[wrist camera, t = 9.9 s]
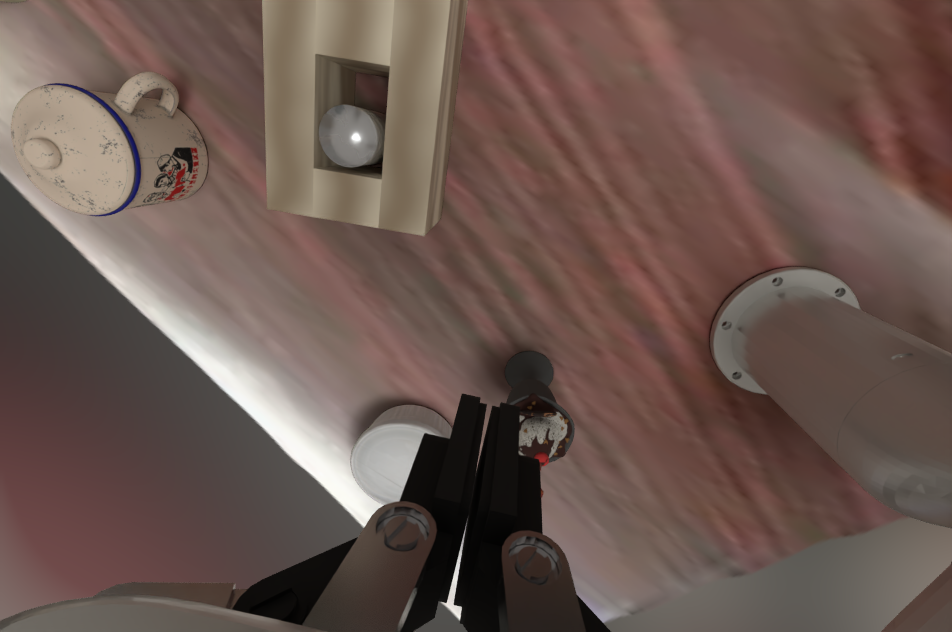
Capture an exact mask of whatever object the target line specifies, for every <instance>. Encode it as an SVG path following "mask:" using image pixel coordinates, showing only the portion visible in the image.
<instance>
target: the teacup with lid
mask: <svg viewBox="0 0 952 632" xmlns="http://www.w3.org/2000/svg"><path fill="white" fill-rule="evenodd" d="M159 88H160V89H162V96H161V98H160V100H157V99H152V98H144V97H143V96H144V95H145V94H146V93H148V92H149V91H151V90H153V89H159ZM178 103H179V94H178V91H177V89H176V87H175V86H174V85H173V84H172V83H171V82H170V81H169V80H168V79H167V78H166V77H164V76H163V75H161V74H158V73H155V72H143V73H139V74H137V75H135V76H133V77H132V78H130V79H129V80H128V81H127V82H125V84H124V85H123V86H122V87H121V89H120V90H119V92H118V94H112V93H104V92H96V91H88V90H85V89H83V88H80V87H77V86H73V85H69V84H60V83H55V84H48V85H44V86H41V87H38V88H35V89H33V90H31V91H30V92H28V93H27V94H26V95H25V96H24V97H23V98H22V99H21V100H20V101H19V103H18V104H17V106H16V108H15V110H14V113H13V117H12V123H11V136H12V142H13V146H14V150H15V153H16V156H17V158H18V160H19V162H20V164H21V166H22V168H23V170H24V171H25V173H26V174H27V176H28V177H29V179H30V180H31V181H32V183H33V184H34V185H35V186H36V187H37V188H38V189H39V190H40V191H41V192H42V193H43V194H44V195H46V196H47V197H48V198H49V199H51V200H52V201H54V202H55V203H57V204H58V205H60V206H62V207H64V208H66V209H69V210H71V211H74V212H77V213H80V214H85V215H90V216H107V215H112V214H115V213H117V212H120V211H121V210H123V209H129V208H135V207H141V206H146V205H152V204H158V203H164V202H170V201H176V200H182V199H185V198H187V197H190V196H191V195H193V194H194V193H195V192H197V190H198V189H199V188H200V187H201V186H202V184H203V182H204V180H205V178H206V174H207V169H208V156H207V150H206V147H205V144H204V141H203V139H202V136H201V134H200V133H199V131H198V129H197V128H196V126H195V125H194V124H193V122H192V121H191V120H190V119H189V118H188V117H187V116H186V115H185V114H184V113H183V112H182V111H180V110H179V109H178V108H177V106H178Z"/></svg>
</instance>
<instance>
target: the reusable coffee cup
mask: <svg viewBox="0 0 952 632" xmlns="http://www.w3.org/2000/svg"><path fill="white" fill-rule="evenodd" d="M0 1H2V2H11V3H19V2H24V1H27V0H0Z"/></svg>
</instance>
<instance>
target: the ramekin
mask: <svg viewBox="0 0 952 632" xmlns="http://www.w3.org/2000/svg"><path fill="white" fill-rule="evenodd" d="M424 433H427V434H432V435H436V436H440V437H445V438H449V439H450V436H451V433H452V428H451V426H450V425H449V424H448V422H447V421H446V420H445V419H444V418H443V417H441V416H440V415H439V414H437V413H436V412H434V411H433V410H431V409H428V408H426V407H422V406H416V405H401V406H396V407H393V408H391V409H388V410H386V411H385V412H383V413H382V414H381V415H380V416H379V417H378V418H377V419H376V420H375V421H374V422H373V424H372V425H371V426H370V427H369V428H368V429H367V430H365V431H364V432H363V433H362V434H361V436H360V437H359V438H358V440H357V441H356V443H355V445H354V447H353V449H352V452H351V460H350V463H351V470H352V473H353V476H354V478H355V480H356V482H357V483H358V485H359V486H360V487H361V489H362V490H363V491H364V492H365V493H366V494H367V495H369V496H370V497H371V498H372V499H374V500H375V501H377V502H379V503H381V504H383V505H386V504H389V503H392V502H396V501H400V498H401V495H402V493H403V490H404V487H405V484H406V482H407V479H408V476H409V473H410V471H411V468H412V465H413V462H414V460H415V457H416V454H417V451H418V449H419V446H420V443H421V440H422V438H423V435H424Z"/></svg>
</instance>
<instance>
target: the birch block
mask: <svg viewBox="0 0 952 632" xmlns="http://www.w3.org/2000/svg"><path fill="white" fill-rule="evenodd" d="M467 4H468V0H262V13H263V55H264V98H265V140H266V183H267V209H270V210H275V211H281V212H287V213H293V214H299V215H305V216H310V217H316V218H322V219H328V220H334V221H340V222H345V223H351V224H357V225H363V226H369V227H375V228H380V229H386V230H392V231H398V232H404V233H410V234H415V235H421V236H425V235H426V234H427V233H428V232H429V231H430V230H431V229H432V228H433V227H434V226H435V225H436V224H437V223H438V222H439V221H440V219H441V215H442V207H443V199H444V191H445V182H446V174H447V166H448V158H449V150H450V142H451V134H452V126H453V118H454V110H455V102H456V93H457V85H458V77H459V69H460V61H461V53H462V45H463V37H464V29H465V21H466V12H467ZM356 72H359V73H365V74H371V75H377V76H383V77H389V84H388V98H387V112H386V126H385V140H384V155H383V169H381V168H375V167H369V166H358V167H344V166H341V165H338V164H336V163H335V162H333V161H332V160H331V159H330V158H329V157H328V156H327V155H326V154H325V152H324V150H323V148H322V146H321V144H320V140H319V126H320V122H321V120H322V118H323V116H324V115H325V113H326V112H327V111H328V110H330V109H331V108H333V107H335V106H338V105H351V106H354V102H355V80H356Z"/></svg>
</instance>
